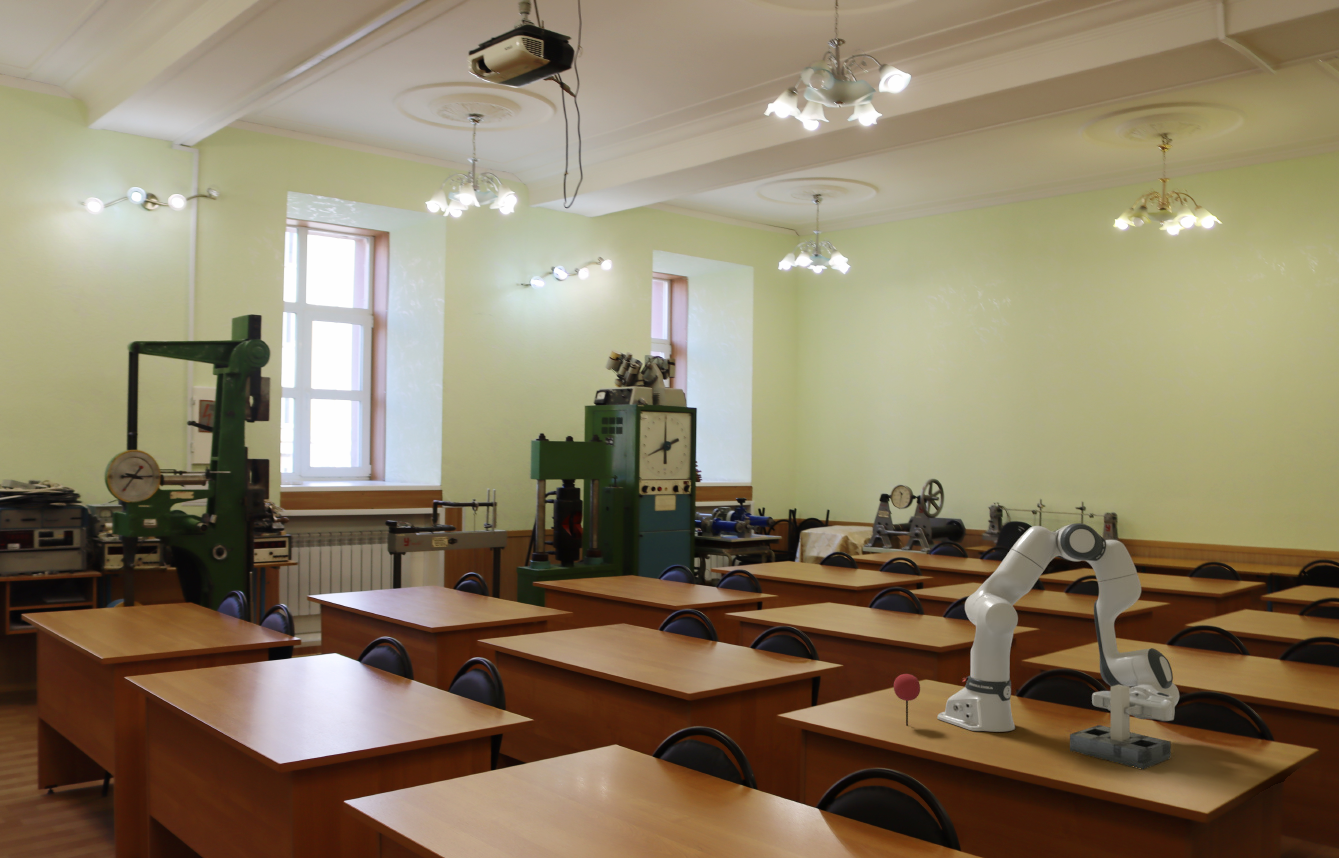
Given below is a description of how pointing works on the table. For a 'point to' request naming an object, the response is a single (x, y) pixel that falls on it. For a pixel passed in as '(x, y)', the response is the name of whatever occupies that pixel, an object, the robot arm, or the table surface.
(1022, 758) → the table surface
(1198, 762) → the table surface
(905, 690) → the lollipop
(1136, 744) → the rack
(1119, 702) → the clay bar
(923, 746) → the table surface
